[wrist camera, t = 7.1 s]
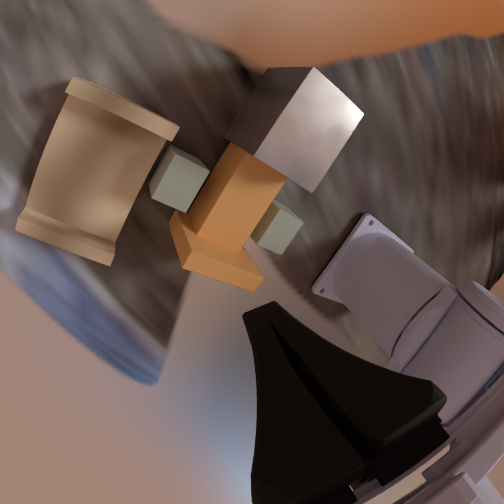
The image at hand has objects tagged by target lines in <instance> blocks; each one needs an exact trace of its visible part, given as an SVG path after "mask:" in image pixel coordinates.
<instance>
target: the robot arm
mask: <svg viewBox="0 0 504 504" xmlns="http://www.w3.org/2000/svg"><path fill="white" fill-rule="evenodd" d="M369 222H370V223H369ZM312 292H313V293H314V294H317V295H319V296H322V297H325V298H328V299H330V300H333V301H336V302H339V303H341V304H344V305H345V306H346V307H347V308H348V309H349V310H350V312H351V313H352V314H353V315H354V316H355V317H356V318H357V320H358V321H359V322H360V323H361V324H362V325H363V326H364V327H365V329H366V330H367V331H368V332H369V333H370V334H371V336H372V337H373V338H374V339H375V340H376V341H377V342H378V344H379V345H380V346H381V347H382V348H383V349H384V351H385V352H386V353H387V354H388V355H389V356H390V358H391V360H390V362H389V363H388V364H387V367H388V369H386V368H384V367H381V366H378V365H375V364H373V363H370V362H368V361H365V360H363V359H361V358H359V357H357V356H355V355H353V354H351V353H349V352H347V351H345V350H343V349H341V348H339V347H337V346H336V345H334V344H332V343H331V342H329V341H327V340H326V339H324V338H322V337H321V336H319V335H318V334H316V333H315V332H314V331H312V330H311V329H309V328H307V327H306V326H305V325H304V324H302V323H301V322H299V321H298V320H297V319H296V318H294V317H293V316H292V315H291V314H290V313H288V312H287V311H286V310H285V309H284V308H282V307H281V306H280V305H279V304H278V303H277V302H275V301H272V302H270V303H268V304H265V305H263V306H260V307H258V308H255V309H253V310H250V311H248V312H245V313H244V314H243V315H242V317H243V320H244V324H245V327H246V330H247V333H248V337H249V340H250V343H251V346H252V350H253V355H254V364H255V374H256V386H257V423H256V424H257V425H256V437H255V449H254V457H253V464H252V471H251V496H252V503H253V504H363V503H365V502H367V501H369V500H370V499H372V498H374V497H375V496H377V495H378V494H380V493H382V492H383V491H385V490H387V489H388V488H390V487H392V486H393V485H395V484H396V483H398V482H399V481H401V480H402V479H404V478H405V477H407V476H408V475H410V474H411V473H412V472H414V471H415V470H416V469H418V468H419V467H421V466H422V465H423V464H425V463H426V462H427V461H429V460H430V459H431V458H433V457H434V456H435V455H436V454H438V453H439V452H440V451H441V450H442V449H443V448H445V447H446V446H447V445H449V443H450V450H449V451H448V452H447V453H446V454H445V455H444V456H443V457H441V458H440V459H439V460H437V461H436V462H435V463H434V464H432V465H431V466H430V467H429V468H427V469H426V470H425V471H423V472H422V475H423V477H424V478H425V479H426V481H425V482H424V483H423V484H421V485H420V486H418V487H417V488H416V489H414V490H413V491H411V492H410V493H408V494H407V495H405V496H404V497H402V498H401V499H399V500H398V501H396V502H394V503H393V504H504V500H503V498H502V497H501V496H500V494H499V493H498V491H497V490H496V489H495V487H494V486H493V485H492V483H491V482H490V481H489V479H488V478H487V477H486V475H487V474H488V473H489V472H490V470H491V469H492V468H493V467H494V466H495V465H496V463H497V462H498V461H499V460H500V459H501V457H502V456H503V455H504V303H503V302H502V301H501V300H499V299H498V298H497V297H496V296H494V295H493V294H492V293H491V292H489V291H488V290H487V289H485V288H484V287H482V286H481V285H480V284H478V283H476V282H475V281H468V282H462V283H461V284H460V285H459V287H458V288H456V287H454V286H453V285H452V284H451V283H449V282H448V281H447V280H446V279H444V278H443V277H442V276H441V275H440V274H438V273H437V272H436V271H435V270H433V269H432V268H431V267H430V266H428V265H427V264H426V263H425V262H423V261H422V260H421V259H419V258H418V257H417V256H416V255H414V254H413V250H412V249H411V248H410V247H409V246H408V245H406V244H405V243H404V242H403V241H402V240H401V239H399V238H398V237H397V236H396V235H395V234H393V233H392V232H391V231H390V230H389V229H387V228H386V227H385V226H384V225H383V224H381V223H380V222H379V221H378V220H377V219H375V218H374V217H373V216H372V215H370V214H369V213H365V214H364V215H363V216H362V217H361V219H360V220H359V221H358V223H357V224H356V226H355V227H354V229H353V230H352V232H351V233H350V235H349V236H348V237H347V239H346V240H345V242H344V243H343V245H342V246H341V247H340V249H339V250H338V252H337V253H336V254H335V256H334V257H333V259H332V260H331V261H330V263H329V264H328V266H327V267H326V268H325V270H324V271H323V272H322V274H321V275H320V276H319V278H318V279H317V281H316V282H315V283H314V285H313V286H312ZM349 485H350V486H351V487H352V489H353V491H352V490H351V488H350V486H349Z"/></svg>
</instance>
